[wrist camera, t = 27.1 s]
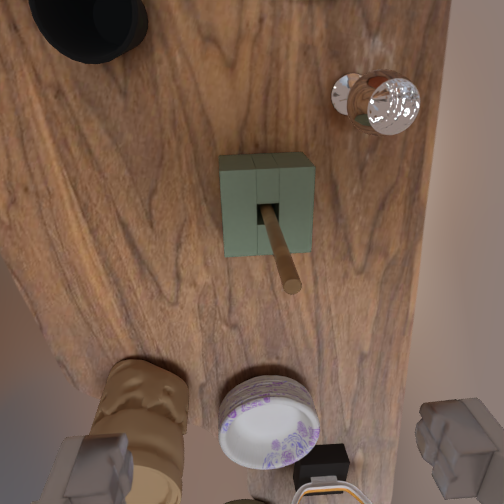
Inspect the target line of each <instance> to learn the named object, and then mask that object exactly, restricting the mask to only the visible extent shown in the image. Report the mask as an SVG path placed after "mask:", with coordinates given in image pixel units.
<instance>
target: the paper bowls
mask: <svg viewBox="0 0 504 504" xmlns="http://www.w3.org/2000/svg"><path fill="white" fill-rule="evenodd" d="M218 429H219V443H220V446H221V448H222V450H223V452H224V453H225V454H226V455H227V456H228V458H230V459H231V460H232V461H234V462H235V463H237V464H239V465H242V466H244V467H248V468H253V469H275V468H280V467H284V466H287V465H290V464H292V463H294V462H296V461H298V460H300V459H301V458H303V457H304V456H305V455H307V454H308V453H309V452H310V451H311V450H312V449H313V447H314V446H315V444H316V442H317V440H318V437H319V433H320V423H319V419H318V416H317V412H316V409H315V406H314V403H313V399H312V397H311V395H310V393H309V391H308V390H307V389H306V388H305V387H304V386H303V385H302V384H300V383H299V382H297V381H295V380H293V379H291V378H288V377H284V376H278V375H273V376H272V375H263V376H258V377H254V378H252V379H249V380H247V381H245V382H243V383H241V384H239V385H237V386H236V387H235V388H233V389H232V390H231V391H230V392H229V393H228V394H227V395H226V396H225V398H224V399H223V401H222V403H221V405H220V409H219V425H218Z"/></svg>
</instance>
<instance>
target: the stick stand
mask: <svg viewBox="0 0 504 504" xmlns="http://www.w3.org/2000/svg"><path fill="white" fill-rule="evenodd" d="M315 168H316V167H315V166H314V165H313V163H312V162H311V161H310V160H309V159H308V158H307V157H306V156H305V155H304V153H303V152H285V153H262V154H241V155H219V176H220V192H221V208H222V224H223V239H224V255H225V257H239V256H256V255H273V251H272V248H271V245H270V241H269V238H268V234H267V231H266V228H265V224H264V221H263V217H262V214H261V211H260V207H259V204H270V203H271V204H272V207H273V210H274V212H275V215H276V218H277V220H278V223H279V225H280V228H281V231H282V233H283V236H284V239H285V241H286V244H287V246H288V249H289V252H290V253H306V252H311V247H312V227H313V207H314V188H315Z"/></svg>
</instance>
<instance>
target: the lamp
mask: <svg viewBox="0 0 504 504" xmlns="http://www.w3.org/2000/svg"><path fill="white" fill-rule="evenodd" d="M349 464H350V462H349V459H348V456H347V453H346V450H345V447H344V444H330V445H315V446H314V447H313V449H312V450H311V451H310V452H309V453H308V454H307V455H305V456H304V457H303V458H301V459H300V460H298V461H296V462H295V465H294V474H293V479H294V485H295V490H296V493H295V495H294V497H293V500H292V502H291V504H298V503H299V501H300V500H301V498H302V497H303V496H313V495H327V494H341V493H343V491H346V492H348V493H350V494H351V495H352V496H354V497H355V498H356V499H357V500H358V501H359V502H360V503H361V504H373V503H372V502H371V501H370V500H369V499H368V497H367V496H366V495H365V494H364V493H363V492H362V491H361V490H359V489H358V488H357V487H356V486H354V485H352V484H351V483H349V482H346V478H347V473H348V469H349Z"/></svg>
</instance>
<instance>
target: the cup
mask: <svg viewBox="0 0 504 504" xmlns="http://www.w3.org/2000/svg"><path fill="white" fill-rule="evenodd" d="M29 5H30V9H31V12H32V16H33V18H34V20H35V22H36V24H37V26H38V28H39V30H40V32H41V33H42V34H43V36H44V37H45V38H46V39H47V41H48V42H49V43H50V44H51V45H52V46H53V47H54V48H55V49H57V50H58V51H59V52H60V53H62V54H63V55H65V56H67V57H69V58H70V59H72V60H75V61H78V62H82V63H85V64H100V63H105V62H109V61H111V60H113V59H115V58H117V57H118V56H120V55H122V54H124V53H125V52H127V51H129V50H131V49H133V48H134V47H136V46H138V45H139V44H140V43H141V42H142V41H143V39H144V37H145V35H146V32H147V29H148V18H147V13H146V10H145V7H144V5H143V3H142V1H141V0H29Z"/></svg>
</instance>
